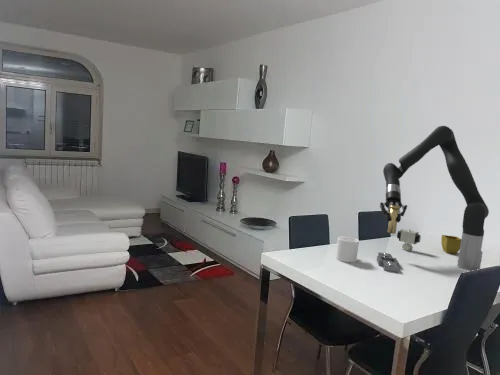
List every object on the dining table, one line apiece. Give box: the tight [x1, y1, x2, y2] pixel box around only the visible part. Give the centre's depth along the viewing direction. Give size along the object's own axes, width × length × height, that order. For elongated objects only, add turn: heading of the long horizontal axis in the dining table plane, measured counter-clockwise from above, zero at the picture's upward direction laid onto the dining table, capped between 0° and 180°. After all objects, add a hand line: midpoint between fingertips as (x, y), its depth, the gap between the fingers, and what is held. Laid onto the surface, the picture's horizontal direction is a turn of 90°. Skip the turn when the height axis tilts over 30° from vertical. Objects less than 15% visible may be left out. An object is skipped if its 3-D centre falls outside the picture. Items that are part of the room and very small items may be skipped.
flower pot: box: [441, 234, 462, 255], centre depth 224 cm, size 9×9×9 cm
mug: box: [335, 236, 360, 264], centre depth 191 cm, size 13×10×10 cm
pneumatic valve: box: [396, 229, 422, 252], centre depth 221 cm, size 6×12×12 cm, turn 54°
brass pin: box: [386, 205, 401, 235], centre depth 199 cm, size 5×5×14 cm
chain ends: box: [376, 252, 400, 273], centre depth 189 cm, size 9×23×3 cm, turn 169°
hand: (393, 220), depth 197 cm, fingers closed on brass pin, 4 cm apart
